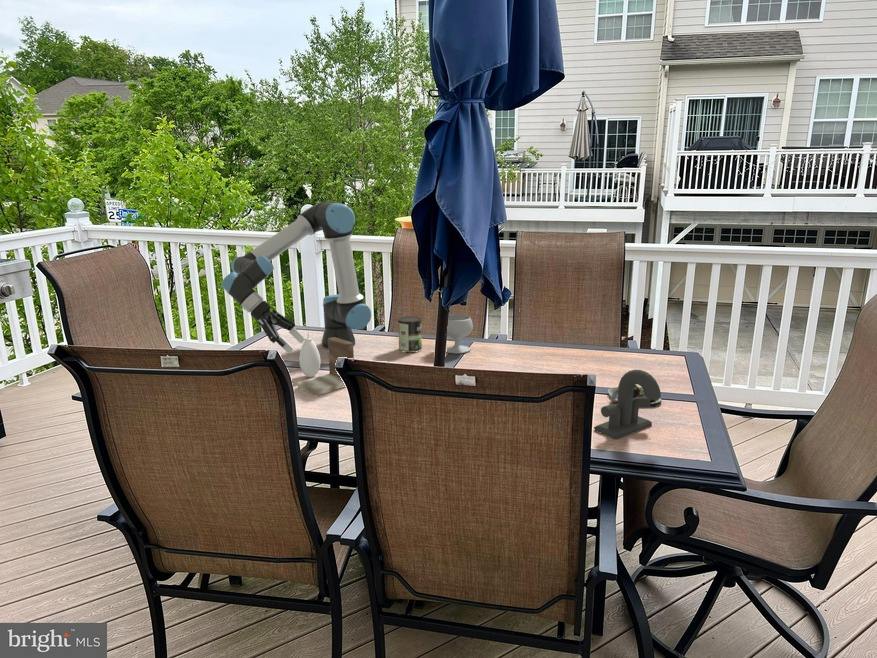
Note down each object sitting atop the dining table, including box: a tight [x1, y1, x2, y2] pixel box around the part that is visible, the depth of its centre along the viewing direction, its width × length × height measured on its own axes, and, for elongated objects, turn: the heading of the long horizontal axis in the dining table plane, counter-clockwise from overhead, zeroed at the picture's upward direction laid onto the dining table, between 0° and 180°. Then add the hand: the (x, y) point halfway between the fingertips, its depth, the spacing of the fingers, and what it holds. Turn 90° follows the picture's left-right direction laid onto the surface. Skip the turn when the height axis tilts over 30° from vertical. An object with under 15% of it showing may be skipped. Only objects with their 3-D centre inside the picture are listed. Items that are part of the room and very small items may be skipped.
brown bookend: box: [297, 337, 355, 396], centre depth 226 cm, size 17×12×16 cm
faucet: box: [593, 369, 662, 440], centre depth 185 cm, size 18×16×20 cm
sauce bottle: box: [298, 331, 321, 378], centre depth 236 cm, size 8×8×18 cm
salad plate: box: [607, 384, 662, 408], centre depth 215 cm, size 19×18×5 cm
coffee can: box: [397, 315, 423, 353], centre depth 271 cm, size 10×10×14 cm
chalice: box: [446, 313, 474, 355], centre depth 269 cm, size 14×14×15 cm
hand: (297, 346), depth 235 cm, fingers open, 13 cm apart
